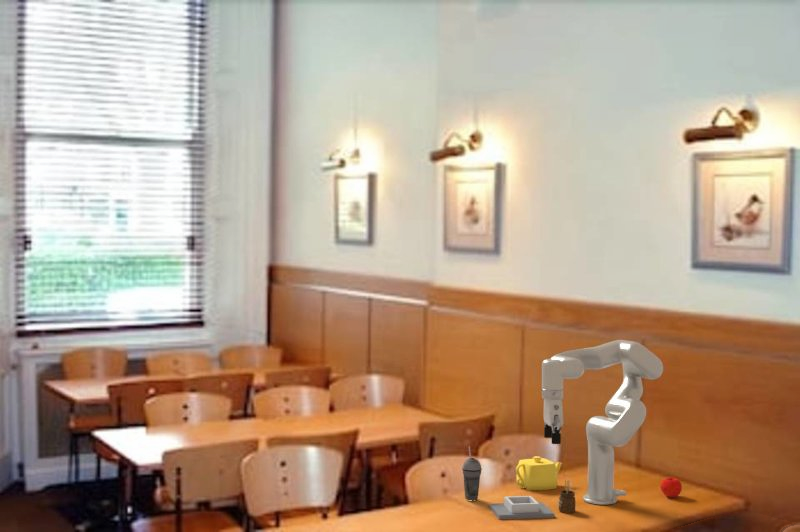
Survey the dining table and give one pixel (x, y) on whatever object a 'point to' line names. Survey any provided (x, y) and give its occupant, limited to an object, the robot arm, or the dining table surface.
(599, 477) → the robot arm
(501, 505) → the dock
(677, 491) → the apple
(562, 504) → the utensil holder
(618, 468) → the dining table surface
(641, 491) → the dining table surface
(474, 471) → the beverage cup
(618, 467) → the dining table surface
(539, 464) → the teapot
